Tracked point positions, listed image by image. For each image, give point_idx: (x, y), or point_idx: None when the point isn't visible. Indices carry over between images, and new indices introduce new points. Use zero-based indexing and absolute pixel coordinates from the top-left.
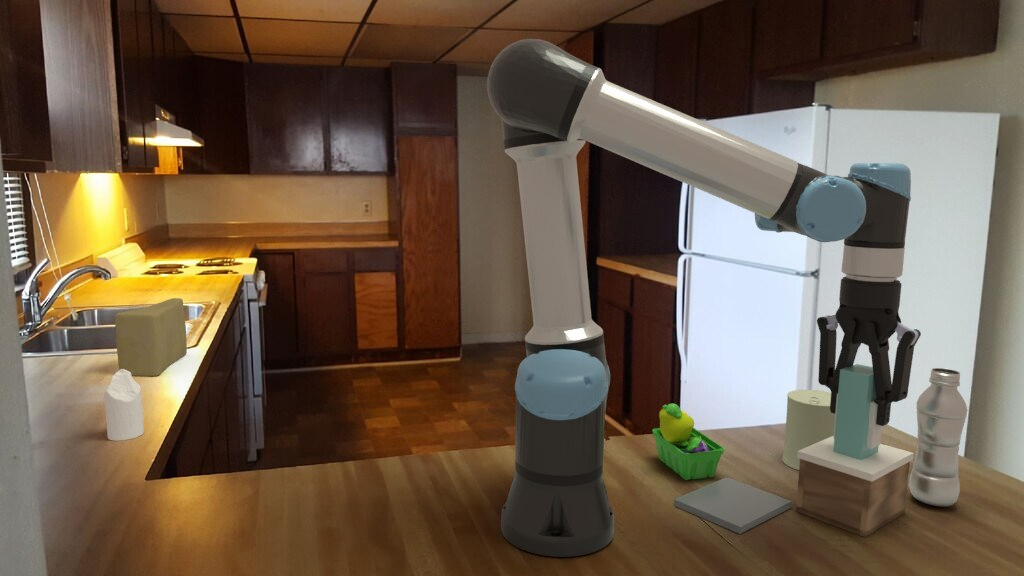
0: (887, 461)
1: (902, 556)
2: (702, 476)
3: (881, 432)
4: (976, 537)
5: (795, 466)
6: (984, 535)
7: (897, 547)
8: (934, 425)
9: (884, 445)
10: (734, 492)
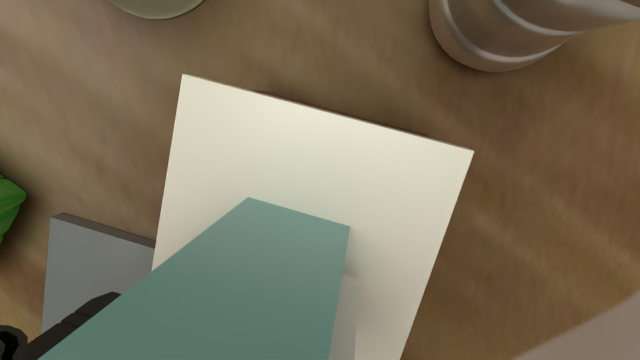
0: (394, 304)
1: (441, 353)
2: (12, 218)
3: (357, 310)
4: (587, 177)
5: (132, 13)
6: (607, 154)
7: (428, 321)
8: (619, 18)
9: (359, 131)
10: (100, 287)
